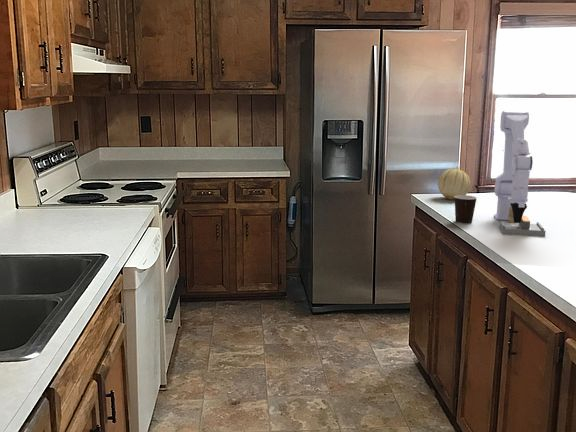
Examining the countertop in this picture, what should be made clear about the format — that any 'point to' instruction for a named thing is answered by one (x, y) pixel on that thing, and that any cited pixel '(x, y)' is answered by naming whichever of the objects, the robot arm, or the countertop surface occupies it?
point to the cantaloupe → (453, 183)
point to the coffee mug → (464, 208)
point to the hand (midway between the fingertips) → (517, 222)
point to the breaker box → (521, 229)
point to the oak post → (510, 216)
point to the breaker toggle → (525, 222)
